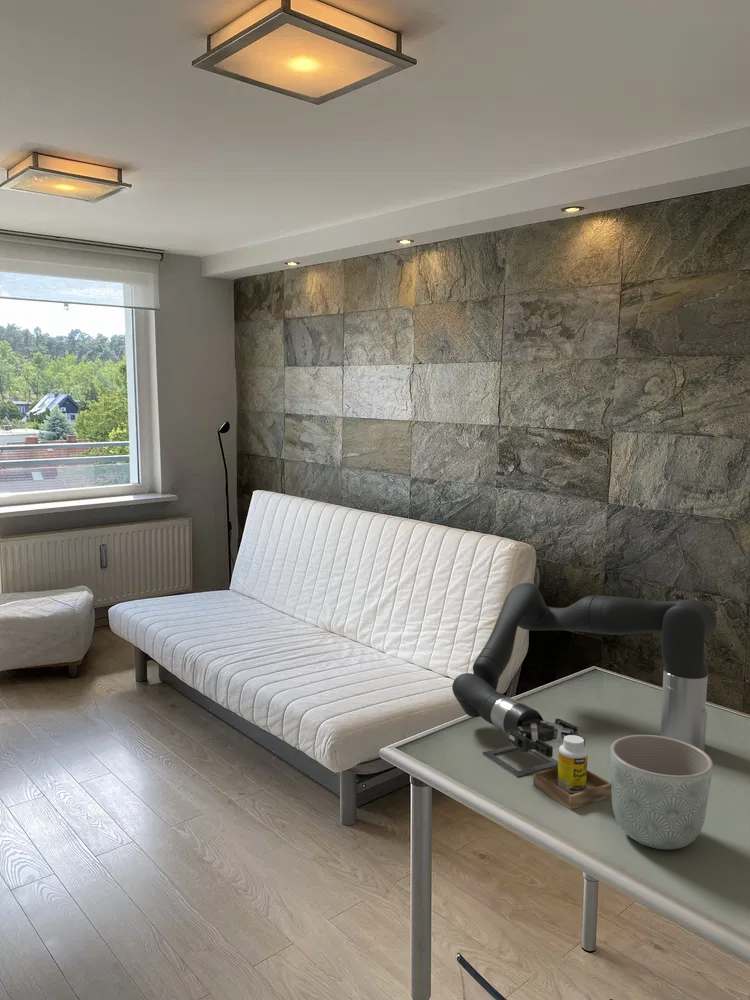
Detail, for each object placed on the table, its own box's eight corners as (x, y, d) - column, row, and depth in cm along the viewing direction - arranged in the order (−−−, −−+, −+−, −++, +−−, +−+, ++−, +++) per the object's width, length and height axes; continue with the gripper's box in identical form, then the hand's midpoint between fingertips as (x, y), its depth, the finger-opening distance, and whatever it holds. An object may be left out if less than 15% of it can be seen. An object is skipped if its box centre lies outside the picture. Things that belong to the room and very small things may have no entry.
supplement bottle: (572, 797, 148) (574, 747, 147) (551, 785, 153) (553, 736, 152) (592, 790, 151) (594, 740, 150) (570, 778, 156) (572, 730, 155)
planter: (586, 829, 138) (590, 748, 137) (642, 802, 148) (647, 726, 147) (671, 875, 125) (676, 786, 123) (726, 842, 135) (732, 759, 133)
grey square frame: (525, 743, 174) (525, 742, 174) (561, 765, 163) (561, 763, 163) (482, 754, 168) (482, 752, 168) (517, 777, 158) (517, 775, 158)
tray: (573, 774, 159) (573, 762, 159) (611, 797, 150) (612, 784, 150) (533, 785, 154) (533, 773, 154) (570, 809, 145) (570, 796, 145)
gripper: (490, 708, 163) (541, 737, 149) (541, 697, 170) (595, 724, 156) (489, 742, 164) (539, 773, 150) (540, 730, 171) (593, 759, 157)
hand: (567, 748), depth 153 cm, fingers open, 8 cm apart
